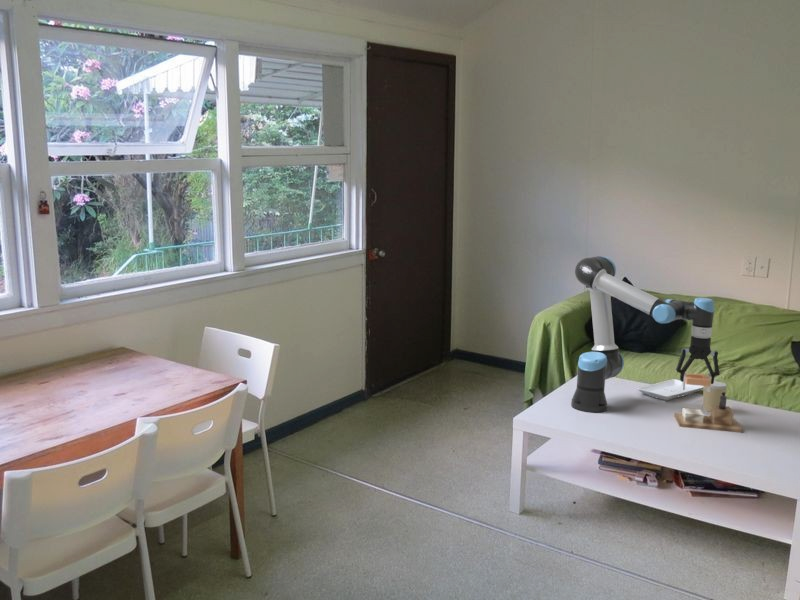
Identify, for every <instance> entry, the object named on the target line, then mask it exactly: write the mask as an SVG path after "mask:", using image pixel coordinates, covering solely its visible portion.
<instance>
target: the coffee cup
mask: <svg viewBox="0 0 800 600" xmlns="http://www.w3.org/2000/svg"><path fill="white" fill-rule="evenodd" d="M702 390H703V391H702V393H703V394H702V410H703V409H704V410H703V411H705V410H706V412H708V411H709V413H711V405H718V406H719V404H720V396H726V392H727V384H726V383H724V382H722V381H716V380H714V383H713V384H711V387H710V392H708V391H707V386H704V388H703V389H702Z"/></svg>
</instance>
